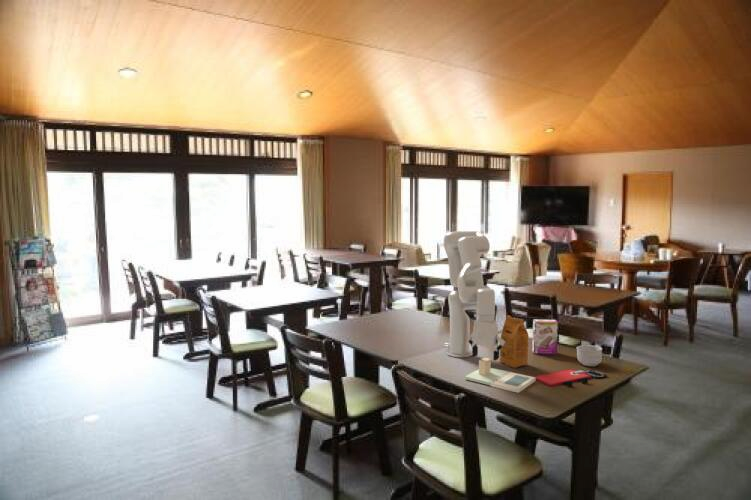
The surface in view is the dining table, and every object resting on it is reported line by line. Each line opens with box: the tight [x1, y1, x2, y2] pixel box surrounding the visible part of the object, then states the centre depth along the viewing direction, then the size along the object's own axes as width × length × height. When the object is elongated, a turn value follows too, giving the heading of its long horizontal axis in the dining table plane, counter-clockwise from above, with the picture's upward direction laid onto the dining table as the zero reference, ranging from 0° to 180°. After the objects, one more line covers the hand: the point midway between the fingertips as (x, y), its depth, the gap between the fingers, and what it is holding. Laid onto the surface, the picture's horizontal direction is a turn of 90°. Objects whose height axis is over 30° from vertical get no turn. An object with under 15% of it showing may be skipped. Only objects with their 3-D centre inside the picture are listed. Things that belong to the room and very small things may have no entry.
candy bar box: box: [531, 318, 559, 356], centre depth 255 cm, size 11×5×16 cm, turn 84°
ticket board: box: [489, 371, 537, 394], centre depth 214 cm, size 12×17×2 cm
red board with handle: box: [532, 368, 608, 388], centre depth 220 cm, size 30×3×15 cm
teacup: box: [576, 344, 603, 367], centre depth 238 cm, size 14×11×8 cm
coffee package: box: [499, 314, 529, 369], centre depth 238 cm, size 10×12×22 cm
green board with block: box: [464, 357, 509, 386], centre depth 221 cm, size 11×17×7 cm
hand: (485, 357), depth 220 cm, fingers open, 9 cm apart
